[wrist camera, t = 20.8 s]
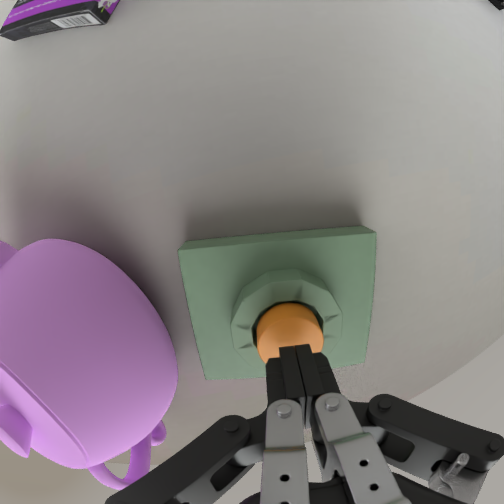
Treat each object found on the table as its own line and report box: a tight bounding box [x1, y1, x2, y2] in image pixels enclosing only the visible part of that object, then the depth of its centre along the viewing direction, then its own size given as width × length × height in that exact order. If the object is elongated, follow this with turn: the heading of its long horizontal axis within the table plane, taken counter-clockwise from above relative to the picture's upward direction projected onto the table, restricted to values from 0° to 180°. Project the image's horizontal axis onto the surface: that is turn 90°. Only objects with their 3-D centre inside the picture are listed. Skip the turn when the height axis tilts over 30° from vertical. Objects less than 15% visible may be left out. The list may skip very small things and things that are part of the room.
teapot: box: [0, 239, 178, 490], centre depth 13 cm, size 25×18×14 cm
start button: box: [257, 303, 324, 363], centre depth 14 cm, size 4×4×2 cm
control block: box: [178, 226, 376, 380], centre depth 17 cm, size 12×10×4 cm
